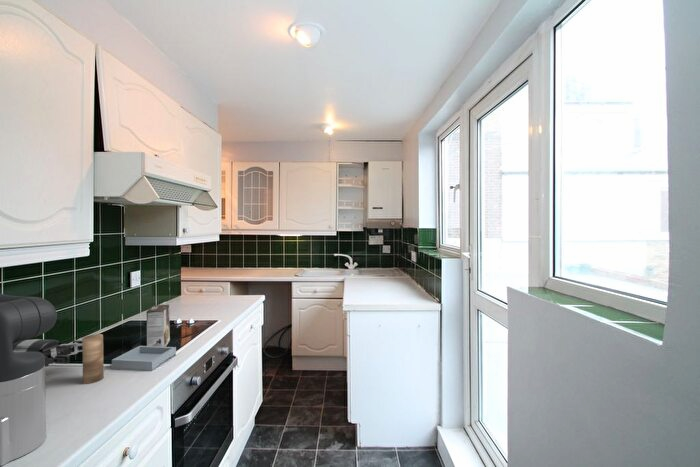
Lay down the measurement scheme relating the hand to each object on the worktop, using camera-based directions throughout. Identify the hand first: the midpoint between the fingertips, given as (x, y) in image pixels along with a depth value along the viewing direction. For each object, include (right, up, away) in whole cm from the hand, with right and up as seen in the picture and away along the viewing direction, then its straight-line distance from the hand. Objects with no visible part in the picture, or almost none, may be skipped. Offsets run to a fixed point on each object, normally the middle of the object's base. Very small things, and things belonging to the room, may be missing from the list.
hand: (82, 353), depth 93 cm
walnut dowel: (+4, -8, 0) cm, 9 cm away
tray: (+12, -8, +12) cm, 19 cm away
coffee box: (+7, -8, +27) cm, 29 cm away
